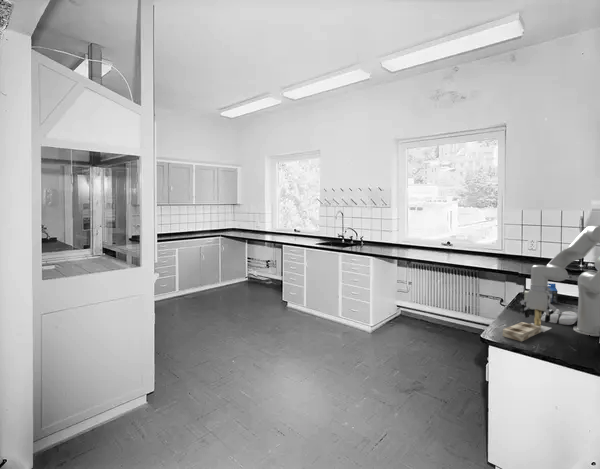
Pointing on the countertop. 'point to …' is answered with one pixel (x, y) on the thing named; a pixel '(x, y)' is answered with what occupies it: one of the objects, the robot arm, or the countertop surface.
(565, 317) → the lung model
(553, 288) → the label tape cartridge
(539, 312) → the brass peg
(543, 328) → the rubber mat
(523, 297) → the pneumatic valve
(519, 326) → the hole block
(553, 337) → the countertop surface
